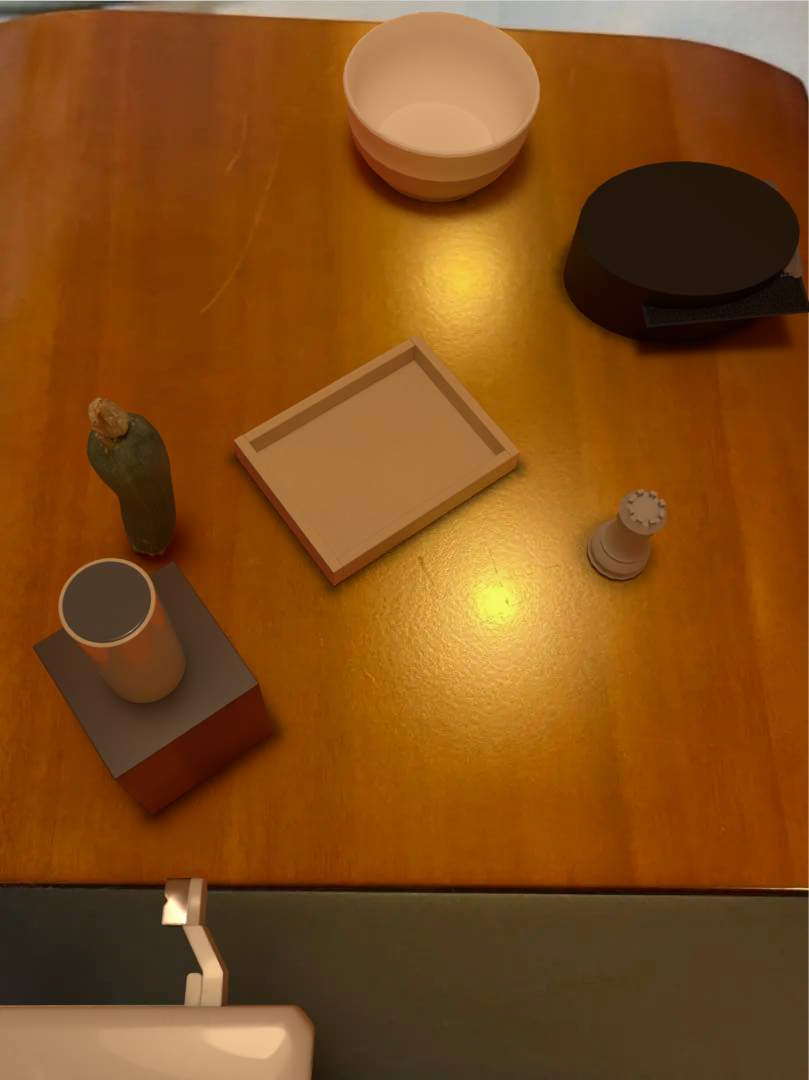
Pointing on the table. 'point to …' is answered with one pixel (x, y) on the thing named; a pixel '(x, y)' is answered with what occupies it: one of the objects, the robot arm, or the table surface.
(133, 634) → the cylinder
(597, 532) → the rook chess piece
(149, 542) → the vegetable
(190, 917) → the robot arm
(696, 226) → the black flat-topped cap
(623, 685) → the table surface
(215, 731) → the pedestal
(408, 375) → the tray
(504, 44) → the bowl
